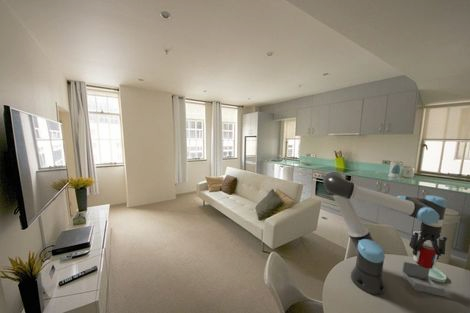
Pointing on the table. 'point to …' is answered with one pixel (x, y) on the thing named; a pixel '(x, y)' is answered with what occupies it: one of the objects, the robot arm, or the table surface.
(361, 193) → the robot arm
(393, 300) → the table surface
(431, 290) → the bay
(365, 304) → the table surface
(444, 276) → the tray
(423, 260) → the beverage can
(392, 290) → the table surface
